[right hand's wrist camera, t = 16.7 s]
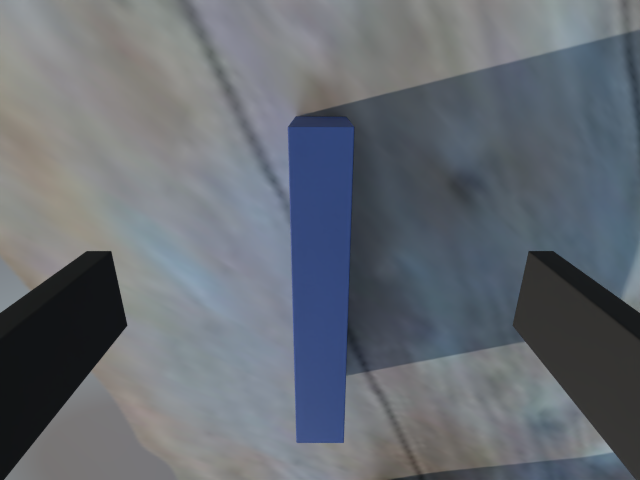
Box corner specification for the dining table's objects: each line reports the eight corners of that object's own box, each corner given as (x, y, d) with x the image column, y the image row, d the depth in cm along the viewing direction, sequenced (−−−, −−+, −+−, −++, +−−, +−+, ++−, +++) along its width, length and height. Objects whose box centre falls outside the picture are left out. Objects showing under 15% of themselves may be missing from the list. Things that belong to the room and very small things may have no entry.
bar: (295, 116, 35) (287, 126, 27) (346, 116, 35) (354, 126, 27) (300, 377, 46) (296, 442, 38) (339, 377, 46) (343, 443, 38)
